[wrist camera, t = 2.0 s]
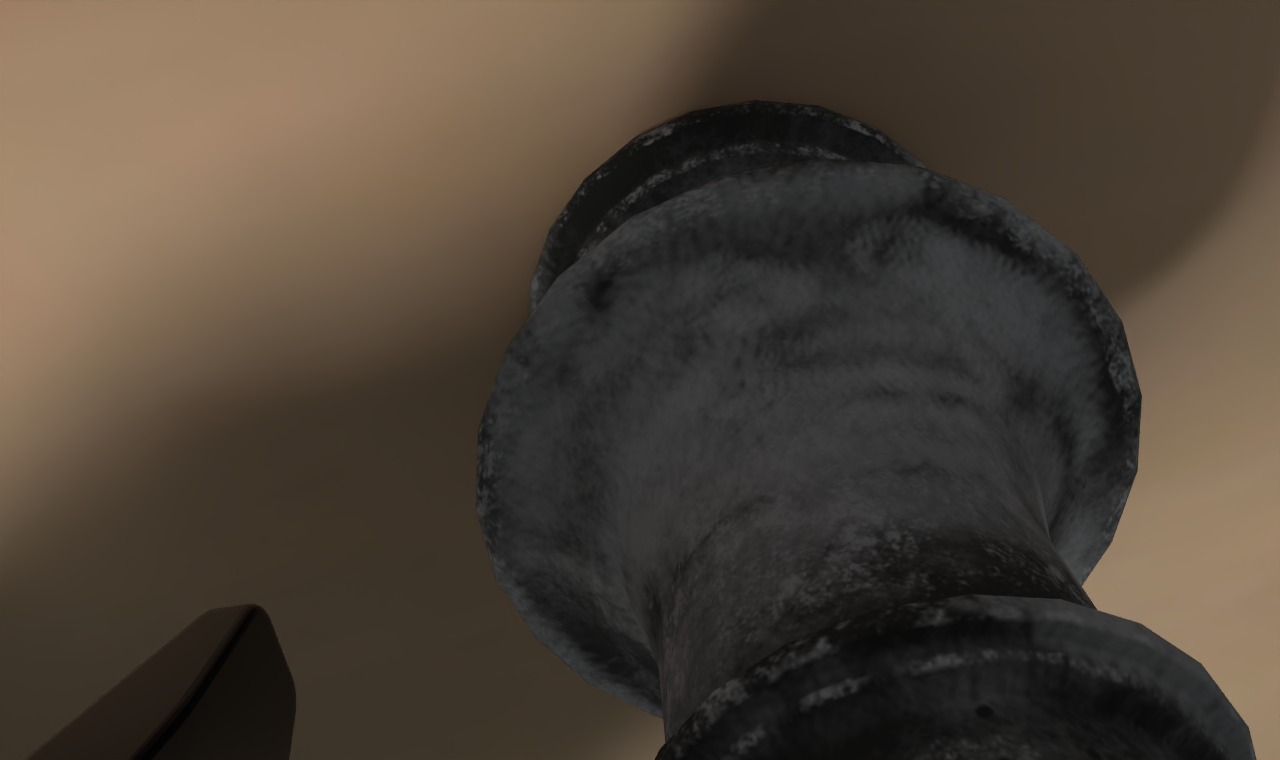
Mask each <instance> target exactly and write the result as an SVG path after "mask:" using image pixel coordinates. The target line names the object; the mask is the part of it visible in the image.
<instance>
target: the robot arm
mask: <svg viewBox="0 0 1280 760" xmlns="http://www.w3.org/2000/svg"><path fill="white" fill-rule="evenodd" d="M295 714H296V691H295V685H294V681H293V678H292V675H291V672H290V670H289V667H288V664H287V662H286V659H285V657H284V654H283V651H282V649H281V646H280V643H279V641H278V638H277V636H276V633H275V630H274V628H273V625H272V623H271V620H270V618H269V616H268V614H267V613H266V611H265V610H264V609H263V608H262V607H260V606H258V605H256V604H247V605H240V606H233V607H226V608H219V609H213V610H210V611H207V612H206V613H204V614H203V615H201V616H200V617H199V618H198V619H196V620H195V621H194V622H193V623H192V624H190V625H189V626H188V627H187V628H185V629H184V630H183V631H182V632H180V633H179V634H178V635H177V636H176V637H174V638H173V639H172V640H171V641H169V642H168V643H167V644H166V645H164V646H163V647H162V648H161V649H160V650H158V651H157V652H156V653H155V654H153V655H152V656H151V657H150V658H148V659H147V660H146V661H145V662H144V663H142V664H141V665H140V666H139V667H137V668H136V669H135V670H134V671H133V672H131V673H130V674H129V675H128V676H126V677H125V678H124V679H123V680H121V681H120V682H119V683H118V684H117V685H115V686H114V687H113V688H112V689H110V690H109V691H108V692H107V693H105V694H104V695H103V696H102V697H101V698H99V699H98V700H97V701H96V702H94V703H93V704H92V705H91V706H89V707H88V708H87V709H86V710H85V711H83V712H82V713H81V714H80V715H78V716H77V717H76V718H75V719H73V720H72V721H71V722H70V723H69V724H67V725H66V726H65V727H64V728H62V729H61V730H60V731H59V732H57V733H56V734H55V735H54V736H53V737H51V738H50V739H49V740H48V741H46V742H45V743H44V744H43V745H41V746H40V747H39V748H38V749H37V750H35V751H34V752H33V753H32V754H30V755H29V756H28V757H27V758H25V759H24V760H289V757H290V750H291V743H292V736H293V728H294V721H295Z"/></svg>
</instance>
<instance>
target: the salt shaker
mask: <svg viewBox="0 0 1280 760" xmlns="http://www.w3.org/2000/svg"><path fill="white" fill-rule="evenodd" d="M1141 400H1142V395H1141V391H1140V387H1139V384H1138V380H1137V376H1136V372H1135V368H1134V365H1133V361H1132V357H1131V353H1130V349H1129V346H1128V342H1127V338H1126V334H1125V330H1124V327H1123V323H1122V321H1121V319H1120V318H1119V316H1118V315H1117V313H1116V312H1115V310H1114V309H1113V307H1112V306H1111V304H1110V303H1109V301H1108V300H1107V298H1106V297H1105V295H1104V294H1103V292H1102V291H1101V289H1100V288H1099V286H1098V285H1097V283H1096V282H1095V280H1094V279H1093V277H1092V276H1091V274H1090V273H1089V271H1088V270H1087V268H1086V267H1085V265H1084V264H1083V262H1082V261H1081V259H1080V258H1079V256H1078V255H1077V254H1076V253H1074V252H1073V251H1072V250H1071V249H1069V248H1068V247H1067V246H1066V245H1064V244H1063V243H1062V242H1060V241H1059V240H1058V239H1057V238H1055V237H1054V236H1053V235H1051V234H1050V233H1049V232H1048V231H1046V230H1045V229H1044V228H1042V227H1041V226H1040V225H1039V224H1037V223H1036V222H1035V221H1033V220H1032V219H1031V218H1030V217H1028V216H1027V215H1026V214H1024V213H1023V212H1022V211H1021V210H1019V209H1018V208H1017V207H1015V206H1014V205H1013V204H1012V203H1010V202H1009V201H1008V200H1006V199H1005V198H1002V197H1000V196H997V195H994V194H992V193H989V192H986V191H984V190H981V189H978V188H976V187H973V186H970V185H968V184H965V183H962V182H960V181H957V180H955V179H952V178H949V177H947V176H944V175H941V174H939V173H936V172H933V171H931V170H928V169H927V168H926V166H924V165H923V164H922V163H921V162H920V161H918V160H917V159H916V158H915V157H913V156H912V155H911V154H909V153H908V152H907V151H905V150H904V149H903V148H901V147H900V146H899V145H898V144H896V143H895V142H894V141H892V140H891V139H890V138H888V137H887V136H886V135H884V134H883V133H882V132H881V131H879V130H878V129H877V128H875V127H872V126H870V125H867V124H864V123H862V122H859V121H857V120H854V119H851V118H849V117H846V116H843V115H841V114H838V113H836V112H833V111H830V110H828V109H825V108H822V107H820V106H813V105H802V104H790V103H779V102H768V101H756V100H755V101H749V102H744V103H738V104H732V105H727V106H721V107H716V108H710V109H705V110H699V111H693V112H690V113H688V114H686V115H684V116H682V117H679V118H677V119H675V120H673V121H671V122H669V123H667V124H664V125H662V126H660V127H658V128H656V129H654V130H652V131H649V132H647V133H645V134H643V135H641V136H639V137H637V138H634V139H633V140H631V141H630V142H629V143H628V144H627V145H625V146H624V147H623V148H622V149H621V150H619V151H618V152H617V153H616V154H615V155H613V156H612V157H611V158H610V159H609V160H607V161H606V162H605V163H604V164H603V165H601V166H600V167H599V168H598V169H597V170H595V171H594V172H593V173H592V174H591V175H589V176H588V177H587V178H586V179H585V180H584V181H583V183H582V184H581V185H580V187H579V188H578V190H577V191H576V193H575V194H574V195H573V197H572V198H571V200H570V201H569V203H568V204H567V205H566V207H565V208H564V210H563V211H562V213H561V214H560V215H559V217H558V218H557V220H556V221H555V223H554V224H553V226H552V227H551V228H550V231H549V233H548V236H547V239H546V242H545V245H544V248H543V251H542V253H541V256H540V259H539V262H538V265H537V268H536V271H535V273H534V276H533V279H532V282H531V288H530V307H529V318H528V319H527V320H526V322H525V323H524V325H523V326H522V327H521V329H520V330H519V332H518V333H517V334H516V336H515V337H514V339H513V340H512V341H511V343H510V344H509V346H508V347H507V348H506V350H505V353H504V356H503V359H502V362H501V365H500V368H499V371H498V373H497V376H496V379H495V382H494V385H493V388H492V391H491V394H490V396H489V399H488V402H487V405H486V408H485V411H484V414H483V416H482V419H481V422H480V425H479V430H478V451H477V482H476V511H477V514H478V518H479V521H480V525H481V528H482V532H483V535H484V539H485V542H486V546H487V549H488V553H489V556H490V560H491V563H492V567H493V570H494V574H495V577H496V579H497V580H498V582H499V584H500V585H501V587H502V588H503V590H504V591H505V593H506V594H507V596H508V597H509V599H510V600H511V602H512V603H513V605H514V606H515V608H516V609H517V611H518V613H519V614H520V616H521V617H522V619H523V620H524V622H525V623H526V625H527V626H528V628H529V629H530V631H531V632H532V634H533V635H534V637H535V638H536V639H538V640H539V641H540V642H541V643H542V644H543V645H545V646H546V647H547V648H548V649H549V650H550V651H551V652H553V653H554V654H555V655H556V656H557V657H558V658H560V659H561V660H562V661H563V662H564V663H565V664H567V665H568V666H569V667H570V668H571V669H572V670H573V671H575V672H576V673H577V674H578V675H579V676H580V677H582V678H583V679H584V680H585V681H586V682H587V683H589V684H591V685H593V686H595V687H597V688H599V689H601V690H603V691H605V692H607V693H609V694H611V695H613V696H615V697H617V698H619V699H621V700H623V701H625V702H627V703H629V704H631V705H633V706H635V707H637V708H639V709H641V710H643V711H645V712H647V713H649V714H651V715H653V716H656V717H660V718H663V720H664V731H665V742H666V743H665V744H664V745H663V746H662V748H661V749H660V750H659V752H658V754H657V756H656V758H655V760H1256V756H1255V752H1254V748H1253V743H1252V739H1251V735H1250V731H1249V727H1248V726H1247V725H1246V723H1245V722H1244V721H1243V719H1242V718H1241V716H1240V715H1239V714H1238V712H1237V711H1236V710H1235V708H1234V707H1233V706H1232V704H1231V703H1230V702H1229V700H1228V699H1227V698H1226V696H1225V695H1224V693H1223V692H1222V691H1221V689H1220V688H1219V687H1218V685H1217V684H1216V683H1215V681H1214V680H1213V679H1212V677H1211V676H1210V675H1209V673H1208V672H1207V671H1206V669H1205V668H1204V667H1203V665H1202V664H1201V663H1199V662H1198V661H1196V660H1195V659H1193V658H1192V657H1190V656H1189V655H1187V654H1186V653H1184V652H1183V651H1181V650H1180V649H1178V648H1177V647H1175V646H1174V645H1172V644H1171V643H1169V642H1168V641H1166V640H1165V639H1163V638H1162V637H1160V636H1159V635H1157V634H1156V633H1154V632H1153V631H1151V630H1150V629H1148V628H1147V627H1145V626H1144V625H1142V624H1140V623H1137V622H1134V621H1131V620H1127V619H1124V618H1121V617H1118V616H1114V615H1111V614H1108V613H1104V612H1101V611H1098V610H1097V609H1096V607H1095V606H1094V604H1093V603H1092V601H1091V600H1090V598H1089V597H1088V595H1087V594H1086V592H1085V591H1084V590H1083V588H1082V587H1081V586H1082V585H1083V583H1084V582H1085V581H1086V579H1087V578H1088V576H1089V575H1090V573H1091V572H1092V570H1093V569H1094V567H1095V566H1096V564H1097V563H1098V561H1099V560H1100V559H1101V557H1102V556H1103V554H1104V553H1105V551H1106V550H1107V548H1108V547H1109V545H1110V544H1111V542H1112V540H1113V537H1114V535H1115V532H1116V529H1117V526H1118V523H1119V521H1120V518H1121V515H1122V512H1123V510H1124V507H1125V504H1126V501H1127V498H1128V496H1129V493H1130V490H1131V487H1132V484H1133V482H1134V479H1135V476H1136V473H1137V469H1138V452H1139V435H1140V418H1141Z"/></svg>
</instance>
